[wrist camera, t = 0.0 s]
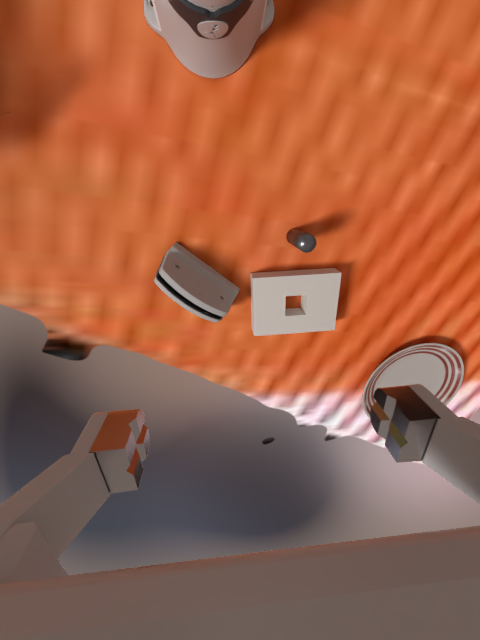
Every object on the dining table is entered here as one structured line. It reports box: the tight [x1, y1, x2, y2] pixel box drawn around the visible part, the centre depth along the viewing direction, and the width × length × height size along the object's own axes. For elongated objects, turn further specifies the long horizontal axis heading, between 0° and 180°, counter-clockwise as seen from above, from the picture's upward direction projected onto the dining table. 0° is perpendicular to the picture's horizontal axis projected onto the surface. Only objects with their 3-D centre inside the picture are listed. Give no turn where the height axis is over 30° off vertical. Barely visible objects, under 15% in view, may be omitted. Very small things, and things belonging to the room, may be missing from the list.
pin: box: [287, 228, 316, 252], centre depth 50 cm, size 3×3×9 cm
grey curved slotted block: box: [154, 242, 239, 323], centre depth 53 cm, size 17×5×10 cm, turn 52°
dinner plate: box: [362, 343, 464, 419], centre depth 72 cm, size 27×27×3 cm
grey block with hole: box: [250, 268, 342, 336], centre depth 58 cm, size 13×18×4 cm
